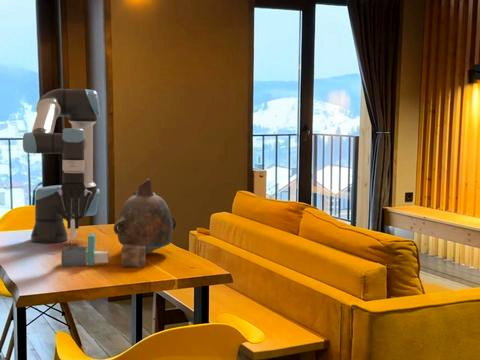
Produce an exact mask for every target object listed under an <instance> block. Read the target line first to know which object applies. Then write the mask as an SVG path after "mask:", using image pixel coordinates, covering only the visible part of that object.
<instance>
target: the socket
mask: <svg viewBox="0 0 480 360" xmlns="http://www.w3.org/2000/svg"><path fill="white" fill-rule="evenodd" d="M145 253H146V244H123V245H122V247H121V268H122V269H124V268H125V269H128V268H129V269H145V266H146V254H145Z"/></svg>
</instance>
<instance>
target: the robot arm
mask: <svg viewBox="0 0 480 360" xmlns="http://www.w3.org/2000/svg"><path fill="white" fill-rule="evenodd" d="M35 108H36V109H35V111H36V117H35V120H34V123H33V127H32V129H31V131H30V132H25V133H23V135H22V149H23V151H24V153H26V154H34V155H35V154H46V155H47V154H56V155H57V154H58V155H59V154H61V155H62V167H61V168H62V169H61V170H62V174H61V175H62V179H61V180H62V183H61V184H57V185H47V186H43V187H39V188H37V189H36V191H35V194H34V196H35V197H34V203H35V204H34V205H35V207H34V209H35V211H34V216H35V217H34V220H35V222H34V225H33V229H32V231H31V234H30V241H31V242H33V243H38V244H56V243H64V242H67V241H68V239H69V237H68V236H69V235H68V234H70V239H76V237H77V230H78V229H79V227H80V220H81V219H83V218H85V217H90V216H91V217H92V216H95V215H96V214H97V211H98V206H99V198H100V189H99V188H97V184H96V183H95V182H94V125H96V124H97V123H98V122H97V121H98V120H97V119H99V118H101V109H100V103H99V95H98V92H97V91H96V90H94V89H87V88H85V89H84V88H80V89H79V88H78V89H77V88H56V89H52V90H50V91H48V92H46V93H45V94H44V95H42V96H41V97H40V98H39V100H38V102H37V104H36V107H35ZM59 117H64V118H65V117H67V118H68V122H69V123H70V125H71V128H69V127H68V128H66V127H65V128H63V130H62V132H61V133H59V132H54V131H55V126H56V121H57V119H58V118H59ZM73 217H74V218H73ZM64 219H66V221H67V229H69V231H70V233H68V232H67V231H68V230H67V229H66V226H65V222H64Z"/></svg>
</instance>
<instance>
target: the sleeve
mask: <svg viewBox="0 0 480 360" xmlns="http://www.w3.org/2000/svg"><path fill="white" fill-rule="evenodd" d="M86 251H88V246H64V247H63V248H62V249H61V254H60V255H61V268H85V267H86V266H87V265H88V263H85V252H86Z"/></svg>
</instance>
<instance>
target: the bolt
mask: <svg viewBox="0 0 480 360" xmlns="http://www.w3.org/2000/svg"><path fill="white" fill-rule="evenodd" d="M96 235H97V234H96V233H89V235H87V251H86V252H85V263H87V266H94V265H95V264H96V263H98V264H100V263H101V264H104V263H105V264H107V263H109V261H110V251H107V250H106V251H105V250H104V251H103V250H100V251H99V250H96Z"/></svg>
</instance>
